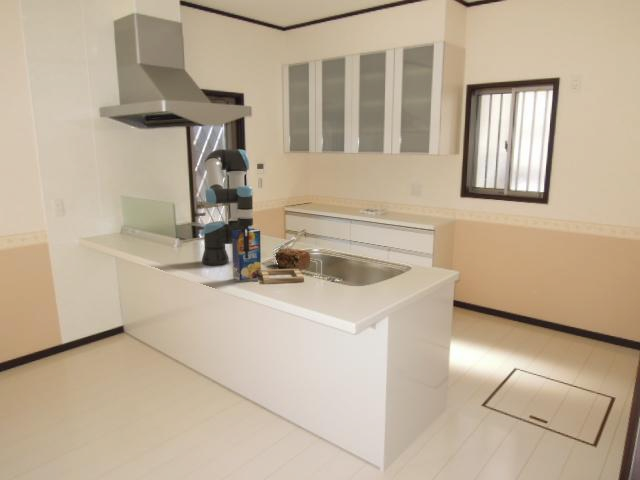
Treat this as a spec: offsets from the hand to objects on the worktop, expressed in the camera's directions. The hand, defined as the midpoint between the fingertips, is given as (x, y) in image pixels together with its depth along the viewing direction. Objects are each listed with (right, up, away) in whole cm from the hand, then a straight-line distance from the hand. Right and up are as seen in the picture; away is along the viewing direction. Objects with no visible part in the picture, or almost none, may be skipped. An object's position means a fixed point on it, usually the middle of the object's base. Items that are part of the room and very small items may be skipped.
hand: (246, 262), depth 230 cm
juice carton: (0, -8, +1) cm, 8 cm away
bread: (+22, -4, +27) cm, 35 cm away
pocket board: (+18, -8, +4) cm, 20 cm away
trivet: (0, -8, +2) cm, 8 cm away
